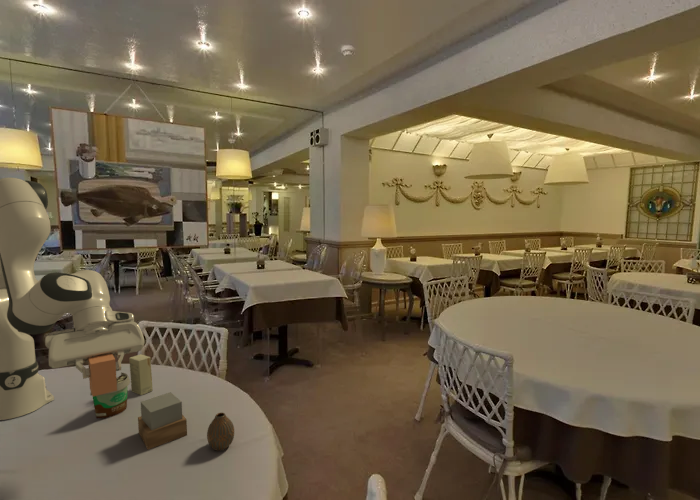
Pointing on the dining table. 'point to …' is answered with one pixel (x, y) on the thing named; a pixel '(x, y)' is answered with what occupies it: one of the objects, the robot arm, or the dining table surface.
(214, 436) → the vase
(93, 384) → the terracotta block
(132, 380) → the skincare box
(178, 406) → the tower top block
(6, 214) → the robot arm
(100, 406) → the food container
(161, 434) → the tower base block
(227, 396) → the dining table surface
